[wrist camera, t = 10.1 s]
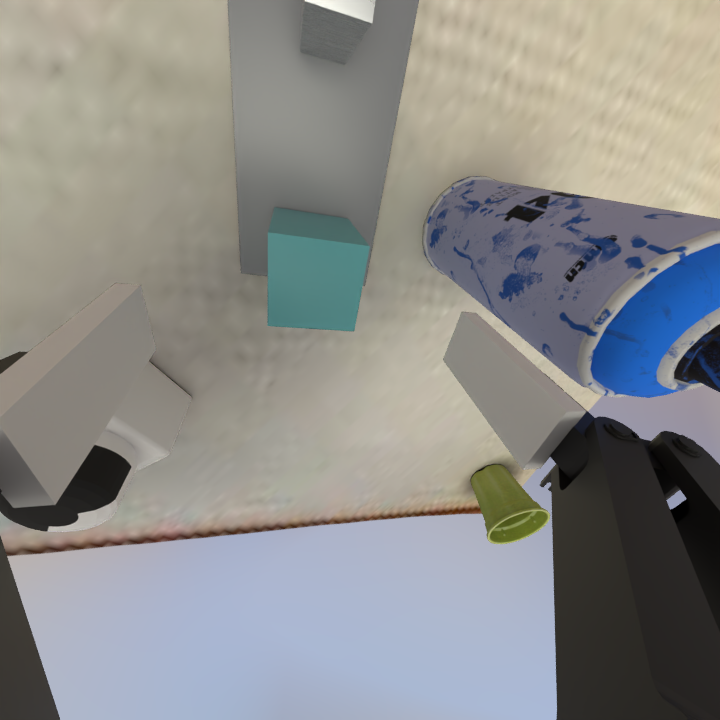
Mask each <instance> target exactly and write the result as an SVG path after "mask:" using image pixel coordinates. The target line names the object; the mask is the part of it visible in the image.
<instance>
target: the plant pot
mask: <svg viewBox="0 0 720 720" xmlns="http://www.w3.org/2000/svg"><path fill="white" fill-rule="evenodd" d="M471 484H472V487H473V490H474V492H475V495H476V498H477V500H478V503H479V506H480V509H481V511H482V514H483V517H484V520H485V526H486V529H487V539H488V541H490V542H491V543H494V544H507V543H512V542H515V541H518V540H521V539H524V538H526V537H528V536H530V535H532V534H534V533H535V532H537V531H539V530H540V529H541V528H542V527H544V526H545V525H546V524H547V522H548V521H549V519H550V514H549V512H548V511H547V510H545V509H543V508H541V507H540V505H539V504H538V503H537V502H535V501H533V500H532V498H531V497H530V496H529V495H528V494H527V493H526V492H525V490H524V489H523V488H522V487H521V486H520V485H519V483H518V482H517V481H516V480H515V479H514V477H513V476H512V475H511V474H510V473H509V472H508V470H507V469H506V468H505V467H504V466H502V465H490V466H487V467H485V469H484V470H482V471H478V472H476V473H475V474H474V475H473V476H472V478H471Z"/></svg>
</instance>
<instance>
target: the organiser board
mask: <svg viewBox="0 0 720 720" xmlns="http://www.w3.org/2000/svg"><path fill="white" fill-rule="evenodd" d="M418 2H419V0H375V7H374V15H373V22H372V25H371V26H370V28H369V29H368V31H367V32H366V34H365V35H364V37H363V38H362V40H361V41H360V43H359V44H358V46H357V47H356V49H355V50H354V52H353V53H352V55H351V56H350V58H349V59H348V61H347V62H346V64H345V65H343V64H339V63H336V62H332V61H329V60H326V59H322V58H319V57H315V56H312V55H308V54H305V53H301V52H300V34H301V11H302V0H228V17H229V38H230V58H231V79H232V100H233V120H234V141H235V161H236V182H237V202H238V223H239V243H240V264H241V273H242V274H252V275H262V276H268V230H269V226H270V223H271V219H272V215H273V211H274V208H275V207H277V208H284V209H290V210H296V211H303V212H309V213H315V214H322V215H328V216H334V217H341V218H347V219H349V221H350V222H351V223H352V224H353V226H354V227H355V228H356V229H357V231H358V232H359V233H360V234H361V236H362V237H363V238H364V240H365V241H366V242H367V243H368V245H369V246H370V248H369V253H368V259H367V264H366V270H365V275H364V281H363V286H365V283H366V277H367V272H368V267H369V262H370V256H371V251H372V246H373V240H374V235H375V230H376V225H377V219H378V214H379V209H380V203H381V198H382V193H383V188H384V182H385V177H386V172H387V166H388V161H389V156H390V151H391V145H392V140H393V135H394V129H395V124H396V119H397V113H398V108H399V103H400V98H401V92H402V87H403V82H404V76H405V71H406V66H407V61H408V55H409V50H410V45H411V39H412V34H413V29H414V24H415V18H416V13H417V8H418Z"/></svg>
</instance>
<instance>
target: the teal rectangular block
mask: <svg viewBox="0 0 720 720" xmlns="http://www.w3.org/2000/svg"><path fill="white" fill-rule="evenodd" d="M369 248H370V246H369V245H368V243H367V242H366V241H365V240H364V238H363V237H362V236H361V234H360V233H359V232H358V231H357V229H356V228H355V227H354V226H353V224H352V223H351V222H350V221H349V219H347V218H341V217H334V216H328V215H322V214H315V213H309V212H303V211H296V210H290V209H284V208H277V207H275V208H274V211H273V215H272V219H271V223H270V226H269V230H268V326H276V327H292V328H309V329H325V330H341V331H354V329H355V324H356V318H357V313H358V308H359V302H360V297H361V291H362V286H363V281H364V275H365V270H366V264H367V259H368V253H369Z"/></svg>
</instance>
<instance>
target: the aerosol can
mask: <svg viewBox="0 0 720 720" xmlns="http://www.w3.org/2000/svg"><path fill="white" fill-rule="evenodd" d="M422 243H423V248H424V253H425V256H426V258H427V259H428V261H429V263H430V264H431V266H432V267H434V268H435V269H436V270H438V271H439V272H440V273H442V274H443V275H447V276H448V277H449V278H450V279H452V280H453V281H454V282H455V283H456V284H458V285H459V286H460V287H461V288H463V289H464V290H465V291H466V292H467V293H469V294H470V295H471V296H472V297H473V298H475V299H476V300H477V301H478V302H479V303H481V304H482V305H483V306H484V307H486V308H487V309H488V310H489V311H490V312H492V313H493V314H494V315H495V316H496V317H498V318H499V319H500V320H501V321H502V322H504V323H505V324H506V325H507V326H509V327H510V328H511V329H512V330H513V331H515V332H516V333H517V334H518V335H519V336H521V337H522V338H523V339H524V340H525V341H527V342H528V343H529V344H530V345H531V346H533V347H534V348H535V349H536V350H538V351H539V352H540V353H541V354H542V355H544V356H545V357H546V358H547V359H548V360H550V361H551V362H552V363H553V364H554V365H556V366H557V367H558V368H559V369H561V370H562V371H563V372H564V373H565V374H567V375H568V376H569V377H570V378H572V379H573V380H574V381H576V382H577V383H578V384H580V385H581V386H583V387H587V388H589V389H590V390H592V391H593V392H594V393H596V394H600V395H605V396H612V397H622V396H637V397H647V398H650V397H656V396H662V395H667V394H670V393H673V392H677V391H684V390H690V389H695V388H698V387H700V386H703V385H706V386H708V387H710V388H712V389H714V390H716V391H718V392H720V219H717V218H711V217H705V216H699V215H693V214H687V213H682V212H676V211H670V210H664V209H658V208H652V207H646V206H640V205H634V204H628V203H622V202H616V201H610V200H604V199H598V198H593V197H587V196H581V195H575V194H569V193H563V192H557V191H551V190H545V189H539V188H533V187H527V186H521V185H515V184H509V183H504V182H499V181H496V180H494V179H491V178H489V177H486V176H475V177H467V178H465V179H462V180H460V181H457V182H455V183H453V184H452V185H451V186H450V187H448V188H447V189H446V190H445V191H444V192H442V193H441V194H440V195H439V197H438V198H437V199H436V201H435V202H434V204H433V205H432V207H431V208H430V210H429V212H428V215H427V218H426V220H425V223H424V226H423V236H422Z"/></svg>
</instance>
